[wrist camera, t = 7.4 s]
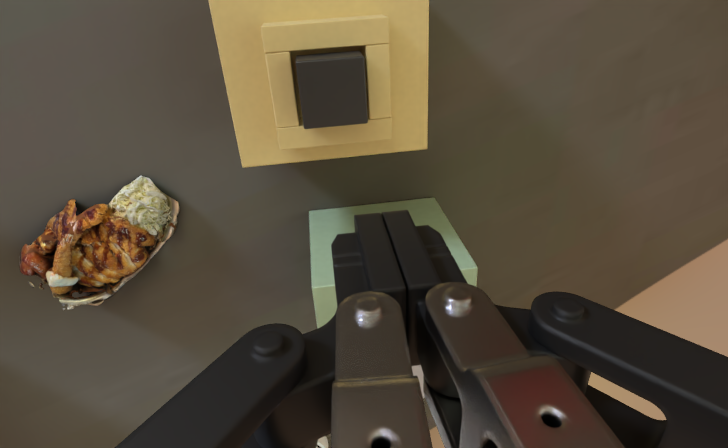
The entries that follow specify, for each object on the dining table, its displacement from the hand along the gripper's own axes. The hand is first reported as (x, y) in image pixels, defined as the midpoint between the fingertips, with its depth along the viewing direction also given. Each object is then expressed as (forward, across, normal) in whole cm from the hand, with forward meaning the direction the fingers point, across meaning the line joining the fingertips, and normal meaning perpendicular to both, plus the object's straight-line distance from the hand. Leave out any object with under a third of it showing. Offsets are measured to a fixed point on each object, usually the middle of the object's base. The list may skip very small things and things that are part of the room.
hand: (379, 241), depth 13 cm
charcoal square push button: (+13, 0, -2) cm, 13 cm away
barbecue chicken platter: (+21, +18, +10) cm, 29 cm away
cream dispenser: (+20, 0, -2) cm, 21 cm away
